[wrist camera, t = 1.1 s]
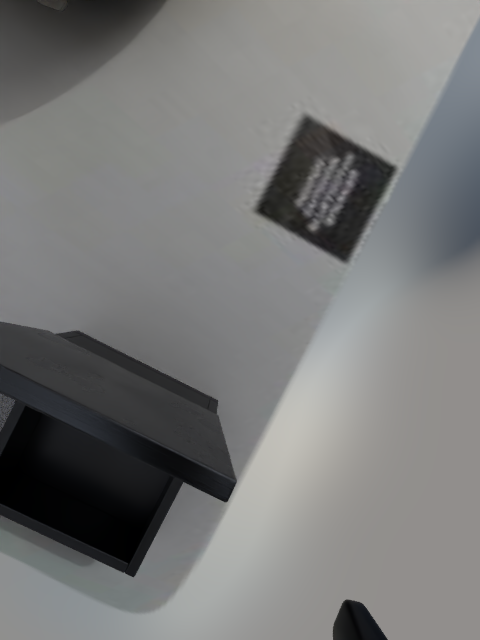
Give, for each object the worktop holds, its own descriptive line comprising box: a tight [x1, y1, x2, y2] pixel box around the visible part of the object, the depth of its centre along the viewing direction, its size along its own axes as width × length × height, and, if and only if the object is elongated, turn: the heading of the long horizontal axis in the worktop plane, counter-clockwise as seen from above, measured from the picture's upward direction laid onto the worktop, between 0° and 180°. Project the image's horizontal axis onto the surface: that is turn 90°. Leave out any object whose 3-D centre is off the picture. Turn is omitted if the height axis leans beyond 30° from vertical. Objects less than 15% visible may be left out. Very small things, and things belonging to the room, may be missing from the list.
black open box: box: [0, 331, 218, 577], centre depth 21 cm, size 10×10×4 cm
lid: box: [0, 322, 237, 502], centre depth 14 cm, size 11×10×1 cm
